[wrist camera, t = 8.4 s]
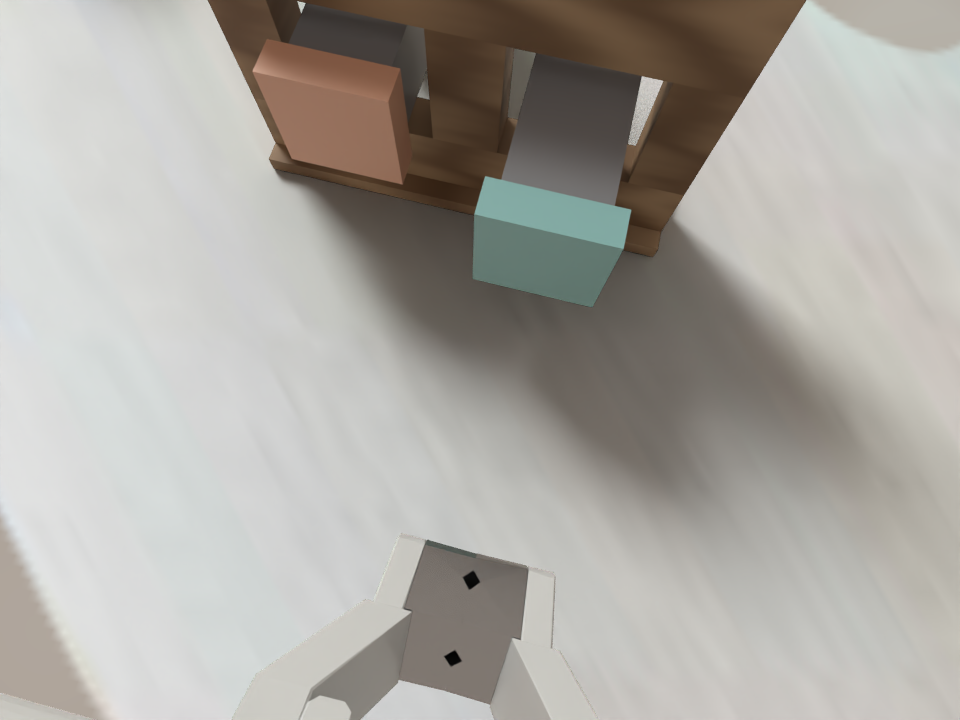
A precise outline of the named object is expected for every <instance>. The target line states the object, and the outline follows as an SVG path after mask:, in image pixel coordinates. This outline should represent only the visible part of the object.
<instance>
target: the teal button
mask: <svg viewBox="0 0 960 720" xmlns="http://www.w3.org/2000/svg"><path fill="white" fill-rule="evenodd" d="M641 77H642V76H639V75H635V74H630V73H626V72H621V71H616V70H612V69H607V68H603V67H598V66H594V65H589V64H584V63H580V62H575V61H571V60H566V59H561V58H557V57H552V56H548V55H543V54H538V53H536V56H535V59H534V63H533V67H532V70H531V74H530V78H529V81H528V85H527V88H526V92H525V96H524V99H523V103H522V106H521V110H520V114H519V117H518V121H517V124H516V128H515V132H514V135H513V139H512V142H511V146H510V150H509V153H508V157H507V160H506V164H505V168H504V171H503V175H502V178H501V180H500V179H495V178H491V177H487V176H485V179H484V182H483V186H482V189H481V192H480V196H479V199H478V203H477V206H476V210H475V213H474V243H473V279H475V280H479V281H483V282H487V283H492V284H496V285H500V286H504V287H508V288H513V289H517V290H521V291H525V292H529V293H534V294H538V295H542V296H546V297H550V298H555V299H559V300H563V301H567V302H571V303H575V304H580V305H584V306H588V307H593V305H594V303H595V301H596V300H597V298H598V296H599V294H600V292H601V290H602V288H603V286H604V285H605V283H606V281H607V279H608V277H609V275H610V273H611V272H612V270H613V268H614V266H615V264H616V262H617V260H618V259H619V257H620V255H621V253H622V251H623V249H624V244H625V239H626V234H627V229H628V224H629V219H630V214H631V210H630V209H626V208H622V207H617V206H615V202H616V197H617V193H618V188H619V183H620V178H621V173H622V168H623V164H624V159H625V154H626V149H627V144H628V140H629V135H630V130H631V125H632V120H633V115H634V111H635V106H636V101H637V96H638V91H639V87H640V82H641Z"/></svg>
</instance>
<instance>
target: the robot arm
mask: <svg viewBox="0 0 960 720" xmlns="http://www.w3.org/2000/svg"><path fill="white" fill-rule="evenodd" d="M555 578H556V577H555V574H554V572H550V571H546V570H542V569H538V568H534V567H530V566H528V567H527V566H526V565H522V564H518V563H514V562H510V561H506V560H502V559H498V558H494V557H489V556H485V555H481V554H475V553H472V552H468V551H465V550H461V549H458V548H454V547H451V546H447V545H444V544H440V543H437V542H433V541H430V540H427V541H426V540H424V539H421V538H417V537H414V536H411V535H407V534H404V533H401V534H400V535H399V537H398V538H397V540H396V543H395V546H394V548H393V551H392V553H391V556H390V559H389V561H388V564H387V566H386V569H385V571H384V574H383V577H382V579H381V582H380V584H379V587H378V589H377V592H376V595H375V597H374V600H373V601H371V600H367V599H365V600H363V601H362V602H360V603H359V604H358V605H356V606H355V607H353V608H352V609H350V610H349V611H347V612H346V613H344V614H343V615H342V616H340V617H339V618H337V619H336V620H334V621H333V622H331V623H330V624H328V625H327V626H325V627H324V628H323V629H321V630H320V631H318V632H317V633H315V634H314V635H312V636H311V637H309V638H308V639H307V640H305V641H304V642H302V643H301V644H299V645H298V646H296V647H295V648H293V649H292V650H291V651H289V652H288V653H286V654H285V655H283V656H282V657H280V658H279V659H277V660H276V661H274V662H273V663H272V664H270V665H269V666H267V667H266V668H264V669H263V670H261V671H260V672H258V673H257V674H256V675H255V676H254V678H253V680H252V682H251V684H250V686H249V688H248V689H247V691H246V693H245V695H244V697H243V699H242V701H241V702H240V704H239V706H238V708H237V710H236V712H235V714H234V715H233V717H232V719H231V720H360V719H361V718H362V717H364V716H365V715H366V714H367V713H368V712H369V711H370V710H371V709H372V708H373V707H374V706H375V705H376V704H377V703H378V702H379V701H380V700H381V699H382V698H383V697H384V696H385V695H386V694H387V693H388V692H389V691H390V690H391V689H392V688H393V687H394V686H395V685H396V684H397V683H398V680H402V681H406V682H410V683H415V684H419V685H423V686H427V687H431V688H435V689H440V690H445V691H447V692H450V693H454V694H457V695H460V696H464V697H467V698H470V699H474V700H477V701H480V702H484V703H487V704H490V709H491V712H492V715H493V718H494V720H599V719H598V717H597V715H596V713H595V712H594V710H593V708H592V706H591V705H590V703H589V701H588V699H587V697H586V696H585V694H584V692H583V690H582V689H581V687H580V685H579V683H578V682H577V680H576V678H575V676H574V675H573V673H572V671H571V669H570V667H569V666H568V664H567V662H566V660H565V659H564V657H563V655H562V653H561V652H560V651H559V650H555V649H552V642H553V620H554V599H555ZM0 720H95V719H92V718H88V717H84V716H81V715H78V714H74V713H71V712H67V711H63V710H60V709H56V708H53V707H49V706H46V705H42V704H39V703H35V702H32V701H28V700H25V699H21V698H17V697H14V696H10V695H7V694H3V693H0Z"/></svg>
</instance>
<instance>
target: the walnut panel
mask: <svg viewBox="0 0 960 720" xmlns="http://www.w3.org/2000/svg"><path fill="white" fill-rule="evenodd" d="M297 1H299V2H304V3H309V4H313V5H318V6H322V7H327V8H332V9H336V10H341V11H345V12H350V13H355V14H359V15H364V16H368V17H373V18H378V19H382V20H387V21H391V22H396V23H401V24H405V25H410V26H414V27H419V28H424V36H425V48H426V61H427V73H428V85H429V97H430V100H428V99H423V98H419V97H417V98H416V101H415V104H414V107H413V110H412V113H411V116H410V119H409V122H408V128H409V135H410V142H411V150H412V158H411V161H410V164H409V167H408V170H407V173H406V176H405V179H404V182H403V185H402V184H398V183H394V182H389V181H385V180H381V179H376V178H372V177H368V176H364V175H359V174H355V173H351V172H346V171H342V170H338V169H333V168H329V167H325V166H320V165H316V164H312V163H307V162H303V161H299V160H295V159H292V158H291V156H290V154H289V151H288V149H287V147H286V145H285V143H284V140H283V138H282V136H281V134H280V132H279V129H278V127H277V125H276V123H275V121H274V118H273V116H272V114H271V112H270V110H269V107H268V105H267V103H266V101H265V98H264V96H263V94H262V92H261V90H260V87H259V85H258V83H257V81H256V79H255V76H254V74H253V72H252V71H253V69H254V66H255V64H256V62H257V60H258V58H259V55H260V53H261V51H262V49H263V47H264V44H265V42H266V40H267V39H270V40H274V41H279V42H283V43H289V41H290V38H291V36H292V34H293V32H294V29H295V27H296V25H297V22H298V20H299V18H300V16H301V12H300V9H299V6H298V2H297ZM208 2H209V4H210V6H211V8H212V10H213V12H214V14H215V16H216V19H217V21H218V23H219V25H220V27H221V29H222V31H223V33H224V35H225V37H226V40H227V42H228V44H229V46H230V48H231V50H232V52H233V54H234V56H235V59H236V61H237V63H238V65H239V67H240V69H241V71H242V73H243V75H244V77H245V80H246V82H247V84H248V86H249V88H250V90H251V92H252V94H253V96H254V98H255V101H256V103H257V105H258V107H259V109H260V111H261V113H262V115H263V117H264V119H265V122H266V124H267V126H268V128H269V130H270V132H271V134H272V136H273V138H274V141H275V145H274V148H273V150H272V153H271V155H270V157H269V160H270V162H271V164H272V166H273V168H274V169H278V170H282V171H286V172H291V173H295V174H299V175H304V176H308V177H312V178H316V179H321V180H325V181H329V182H334V183H338V184H342V185H346V186H351V187H355V188H359V189H364V190H368V191H372V192H377V193H381V194H385V195H389V196H394V197H398V198H402V199H407V200H411V201H415V202H419V203H424V204H428V205H432V206H437V207H441V208H445V209H449V210H454V211H458V212H462V213H467V214H471V215H474V213H475V210H476V206H477V203H478V199H479V196H480V192H481V189H482V186H483V182H484V179H485V176H487V177H491V178H495V179H500V180H501V178H502V175H503V171H504V168H505V164H506V160H507V157H508V153H509V150H510V146H511V142H512V139H513V135H514V132H515V128H516V124H517V121H518V120H517V119H513V118H508V107H509V96H510V86H511V76H512V66H513V55H514V48H515V49H520V50H525V51H529V52H534V53H538V54H543V55H548V56H552V57H557V58H561V59H566V60H571V61H575V62H580V63H584V64H589V65H594V66H598V67H603V68H607V69H612V70H616V71H621V72H626V73H630V74H635V75H639V76H644V77H649V78H653V79H658V80H662V81H663V84H662V86H661V88H660V91H659V93H658V95H657V98H656V100H655V102H654V105H653V107H652V109H651V112H650V114H649V116H648V119H647V121H646V123H645V126H644V128H643V130H642V133H641V135H640V137H639V140H638V142H637V144H636V146H633V145H629V144H627V149H626V154H625V159H624V164H623V168H622V173H621V178H620V183H619V188H618V193H617V197H616V202H615V206H617V207H622V208H626V209H630V210H631V214H630V219H629V224H628V229H627V234H626V239H625V244H624V249H623V250H625V251H630V252H634V253H638V254H642V255H647V256H651V257H653V256H654V255H655V253H656V252H657V250H658V246H659V241H660V235H661V231H662V229H663V228H664V226H665V225H666V223H667V222H668V220H669V218H670V217H671V215H672V214H673V212H674V210H675V209H676V207H677V206H678V204H679V202H680V201H681V199H682V198H683V196H684V194H685V193H686V191H687V190H688V188H689V186H690V185H691V183H692V182H693V180H694V178H695V177H696V175H697V174H698V172H699V171H700V169H701V167H702V166H703V164H704V163H705V161H706V159H707V158H708V156H709V155H710V153H711V151H712V150H713V148H714V147H715V145H716V143H717V142H718V140H719V139H720V137H721V135H722V134H723V132H724V131H725V129H726V127H727V126H728V124H729V123H730V121H731V120H732V118H733V116H734V115H735V113H736V112H737V110H738V108H739V107H740V105H741V104H742V102H743V100H744V99H745V97H746V96H747V94H748V92H749V91H750V89H751V88H752V86H753V84H754V83H755V81H756V80H757V78H758V76H759V75H760V73H761V72H762V70H763V69H764V67H765V65H766V64H767V62H768V61H769V59H770V57H771V56H772V54H773V53H774V51H775V49H776V48H777V46H778V45H779V43H780V41H781V40H782V38H783V37H784V35H785V33H786V32H787V30H788V29H789V27H790V25H791V24H792V22H793V21H794V19H795V17H796V16H797V14H798V13H799V11H800V10H801V8H802V6H803V5H804V3H805V2H806V0H208Z"/></svg>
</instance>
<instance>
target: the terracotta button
mask: <svg viewBox="0 0 960 720" xmlns="http://www.w3.org/2000/svg"><path fill="white" fill-rule="evenodd" d="M426 69H427V61H426V48H425V36H424V28H419V27H414V26H410V25H405V24H401V23H396V22H391V21H387V20H382V19H378V18H373V17H368V16H364V15H359V14H355V13H350V12H345V11H341V10H336V9H332V8H327V7H322V6H318V5H313V4H309V3H306V4H305V6H304V9H303V11H302V13H301V16H300V18H299V20H298V22H297V25H296V27H295V29H294V32H293V34H292V36H291V38H290V41H289V43H283V42H279V41H274V40H270V39H267V40H266V42H265V44H264V47H263V49H262V51H261V53H260V55H259V58H258V60H257V62H256V64H255V66H254V69H253V71H252V72H253V74H254V76H255V79H256V81H257V83H258V85H259V87H260V90H261V92H262V94H263V96H264V98H265V101H266V103H267V105H268V107H269V110H270V112H271V114H272V116H273V118H274V121H275V123H276V125H277V127H278V129H279V132H280V134H281V136H282V138H283V140H284V143H285V145H286V147H287V149H288V151H289V154H290V156H291V158H292V159H295V160H299V161H303V162H307V163H312V164H316V165H320V166H325V167H329V168H333V169H338V170H342V171H346V172H351V173H355V174H359V175H364V176H368V177H372V178H376V179H381V180H385V181H389V182H394V183H398V184H402V185H403V182H404V179H405V176H406V173H407V170H408V167H409V164H410V161H411V158H412V150H411V142H410V135H409V128H408V122H409V119H410V116H411V113H412V110H413V107H414V104H415V101H416V98H417V95H418V93H419V90H420V87H421V84H422V81H423V78H424V75H425V72H426Z"/></svg>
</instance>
